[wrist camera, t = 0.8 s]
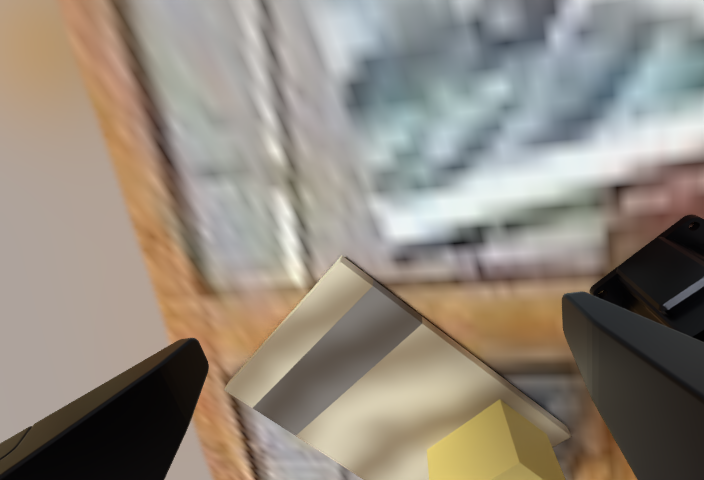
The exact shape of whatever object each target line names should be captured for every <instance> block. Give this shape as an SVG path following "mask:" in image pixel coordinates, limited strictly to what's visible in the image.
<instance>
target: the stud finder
mask: <svg viewBox="0 0 704 480" xmlns="http://www.w3.org/2000/svg"><path fill="white" fill-rule="evenodd" d="M427 460H428V473H429V480H565V477H564V475H563V472H562V470H561V468H560V465H559V463H558V460H557V458H556V455H555V453H554V451H553V448H552V446H551V443H550V441H549V438H548V436H547V434H546V433H544V432H543V431H542V430H540V429H539V428H538V427H536V426H535V425H534V424H532V423H531V422H530V421H528V420H527V419H526V418H524V417H523V416H522V415H520V414H519V413H518V412H516V411H515V410H514V409H512V408H511V407H510V406H508V405H507V404H506V403H504V402H503V401H501V400H500V399H499V400H498V401H496V402H495V403H493V404H492V405H491V406H489V407H488V408H486V409H485V410H483V411H482V412H481V413H479V414H478V415H476V416H475V417H473V418H472V419H471V420H469V421H468V422H466V423H465V424H463V425H462V426H460V427H459V428H458V429H456V430H455V431H453V432H452V433H450V434H449V435H448V436H446V437H445V438H443V439H442V440H440V441H439V442H438V443H436V444H435V445H433V446H432V447H430V448H429V449H428V450H427Z"/></svg>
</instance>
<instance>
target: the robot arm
mask: <svg viewBox="0 0 704 480" xmlns="http://www.w3.org/2000/svg"><path fill="white" fill-rule="evenodd" d="M692 222H694V225H693V226H692V227H690V228H689V225H690V224H691V223H692ZM601 290H604V291H603V292H602V293H601V294H598V292H599V291H601ZM562 320H563V331H564V334H565V337H566V340H567V342H568V344H569V347H570V349H571V351H572V354H573V356H574V358H575V361H576V363H577V365H578V368H579V370H580V373H581V375H582V377H583V380H584V382H585V384H586V387H587V389H588V391H589V393H590V396H591V398H592V400H593V402H594V404H595V406H596V407H597V409H598V411H599V413H600V415H601V416H602V418H603V420H604V422H605V423H606V425H607V427H608V429H609V430H610V432H611V434H612V436H613V437H614V439H615V441H616V443H617V444H618V446H619V448H620V450H621V451H622V453H623V455H624V457H625V458H626V460H627V462H628V464H629V465H630V467H631V469H632V471H633V472H634V474H635V476H636V477H637V479H638V480H704V219H702V218H700V217H698V216H696V215H687V216H685V217H683V218H682V219H680V220H679V221H678V222H676V223H675V224H674V225H672V226H671V227H670V228H668V229H667V230H666V231H664V232H663V233H662V234H660V235H659V236H658V237H656V238H655V239H654V240H653V241H651V242H650V243H649V244H647V245H646V246H645V247H643V248H642V249H641V250H639V251H638V252H637V253H635V254H634V255H633V256H631V257H630V258H629V259H627V260H626V261H625V262H623V263H622V264H621V265H619V266H618V267H617V268H615V269H614V270H613V271H611V272H610V273H609V274H607V275H606V276H605V277H603V278H602V279H601V280H600V281H598V282H597V283H596V284H594V285H593V286H592V287H591V289H590V294H589V293H586V292H574V293H567V294H564V295H563V297H562ZM208 369H209V365H208V361H207V359H206V356H205V354H204V352H203V350H202V348H201V345H200V343H199V341H198V340H197V339H195V338H187V339H181V340H178V341H176V342H175V343H173V344H171V345H169V346H168V347H166V348H164V349H163V350H161V351H159V352H157V353H156V354H154V355H152V356H151V357H149V358H147V359H145V360H144V361H142V362H140V363H138V364H137V365H135V366H133V367H132V368H130V369H128V370H126V371H125V372H123V373H121V374H119V375H118V376H116V377H114V378H113V379H111V380H109V381H108V382H106V383H104V384H102V385H101V386H99V387H97V388H95V389H94V390H92V391H90V392H88V393H87V394H85V395H83V396H82V397H80V398H78V399H76V400H75V401H73V402H71V403H69V404H68V405H66V406H64V407H63V408H61V409H59V410H57V411H56V412H54V413H52V414H50V415H49V416H47V417H45V418H44V419H42V420H40V421H39V422H37V423H35V424H34V425H33V426H30V427H28V428H26V429H25V430H23V431H21V432H19V433H18V434H16V435H14V436H12V437H11V438H9V439H7V440H5V441H4V442H2V443H0V480H164V479H165V477H166V474H167V472H168V470H169V468H170V466H171V464H172V461H173V459H174V457H175V455H176V453H177V451H178V449H179V446H180V444H181V442H182V440H183V437H184V435H185V433H186V431H187V429H188V426H189V424H190V421H191V418H192V416H193V413H194V410H195V407H196V404H197V402H198V399H199V396H200V393H201V390H202V387H203V385H204V382H205V379H206V376H207V373H208Z"/></svg>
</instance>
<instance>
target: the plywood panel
mask: <svg viewBox="0 0 704 480" xmlns="http://www.w3.org/2000/svg"><path fill="white" fill-rule="evenodd" d="M224 390H225V391H226V392H228V393H230V394H231V395H233V396H234V397H236V398H237V399H239V400H240V401H242V402H244V403H245V404H247V405H248V406H250V407H251V408H253V409H255V410H256V411H258V412H260V413H261V414H263V415H264V416H266V417H267V418H269V419H270V420H272V421H274V422H275V423H277V424H278V425H280V426H281V427H283V428H284V429H286V430H288V431H289V432H291V433H292V434H294V435H295V436H297V437H298V438H300V439H301V440H303V441H304V442H306V443H307V444H309V445H311V446H312V447H314V448H315V449H317V450H318V451H320V452H321V453H323V454H325V455H326V456H328V457H329V458H331V459H332V460H334V461H335V462H337V463H339V464H340V465H342V466H343V467H345V468H346V469H348V470H349V471H351V472H353V473H354V474H356V475H357V476H359V477H360V478H362V479H364V480H429V473H428V460H427V450H428V449H429V448H430V447H432V446H433V445H435V444H436V443H438V442H439V441H440V440H442V439H443V438H445V437H446V436H448V435H449V434H450V433H452V432H453V431H455V430H456V429H458V428H459V427H460V426H462V425H463V424H465V423H466V422H468V421H469V420H471V419H472V418H473V417H475V416H476V415H478V414H479V413H481V412H482V411H483V410H485V409H486V408H488V407H489V406H491V405H492V404H493V403H495V402H496V401H498V400H499V399H500V400H501V401H503V402H504V403H506V404H507V405H508V406H510V407H511V408H512V409H514V410H515V411H516V412H518V413H519V414H520V415H522V416H523V417H524V418H526V419H527V420H528V421H530V422H531V423H532V424H534V425H535V426H536V427H538V428H539V429H540V430H542V431H543V432H544V433H546V434H547V436H548V438H549V441H550V443H551V446H552V448H553V447H555V446H556V445H558V444H560V443H561V442H563V441H565V440H566V439H568V438H570V437H571V434H570V432H569V430H568V428H567V426H565V425H564V424H563V423H561V422H560V421H559V420H558V419H556V418H555V417H554V416H552V415H551V414H550V413H548V412H547V411H546V410H544V409H543V408H542V407H540V406H539V405H538V404H536V403H535V402H534V401H533V400H531V399H530V398H529V397H527V396H526V395H525V394H523V393H522V392H521V391H519V390H518V389H517V388H515V387H514V386H513V385H511V384H510V383H509V382H508V381H506V380H505V379H504V378H502V377H501V376H500V375H498V374H497V373H496V372H494V371H493V370H492V369H490V368H489V367H488V366H487V365H485V364H484V363H483V362H481V361H480V360H479V359H477V358H476V357H475V356H473V355H472V354H471V353H469V352H468V351H467V350H465V349H464V348H463V347H462V346H460V345H459V344H458V343H456V342H455V341H454V340H452V339H451V338H450V337H448V336H447V335H446V334H444V333H443V332H442V331H440V330H439V329H438V328H437V327H435V326H434V325H433V324H431V323H430V322H429V321H427V320H426V319H425V318H423V317H422V316H421V315H419V314H418V313H417V312H415V311H414V310H413V309H412V308H410V307H409V306H408V305H406V304H405V303H404V302H402V301H401V300H400V299H398V298H397V297H396V296H394V295H393V294H392V293H391V292H389V291H388V290H387V289H385V288H384V287H383V286H381V285H380V284H379V283H377V282H376V281H375V280H373V279H372V278H371V277H369V276H368V275H367V274H366V273H364V272H363V271H362V270H360V269H359V268H358V267H356V266H355V265H354V264H352V263H351V262H350V261H348V260H347V259H346V258H344V257H343V256H341V257H340V258H339V259H338V260H337V262H336V263H335V264H334V265H333V266H332V267H331V268H330V269H329V270H328V272H327V273H326V274H325V275H324V276H323V277H322V278H321V279H320V280H319V282H318V283H317V284H316V285H315V286H314V287H313V288H312V289H311V291H310V292H309V293H308V294H307V295H306V296H305V297H304V298H303V299H302V301H301V302H300V303H299V304H298V305H297V306H296V307H295V308H294V310H293V311H292V312H291V313H290V314H289V315H288V316H287V317H286V318H285V320H284V321H283V322H282V323H281V324H280V325H279V326H278V327H277V328H276V330H275V331H274V332H273V333H272V334H271V335H270V336H269V337H268V339H267V340H266V341H265V342H264V343H263V344H262V345H261V346H260V347H259V349H258V350H257V351H256V352H255V353H254V354H253V355H252V356H251V357H250V359H249V360H248V361H247V362H246V363H245V364H244V365H243V366H242V368H241V369H240V370H239V371H238V372H237V373H236V374H235V375H234V376H233V378H232V379H231V380H230V381H229V382H228V384H227V386H226V388H225V389H224Z"/></svg>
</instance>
